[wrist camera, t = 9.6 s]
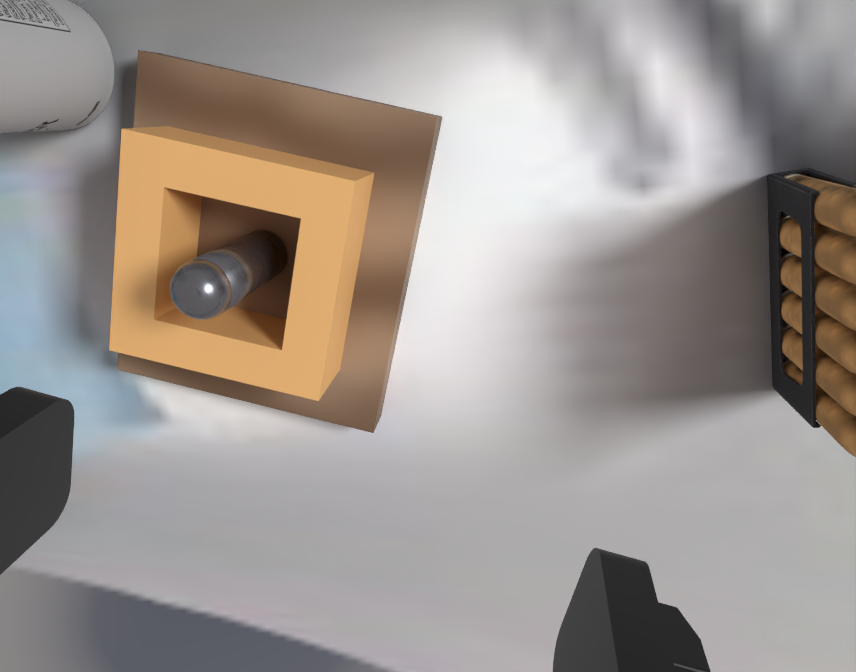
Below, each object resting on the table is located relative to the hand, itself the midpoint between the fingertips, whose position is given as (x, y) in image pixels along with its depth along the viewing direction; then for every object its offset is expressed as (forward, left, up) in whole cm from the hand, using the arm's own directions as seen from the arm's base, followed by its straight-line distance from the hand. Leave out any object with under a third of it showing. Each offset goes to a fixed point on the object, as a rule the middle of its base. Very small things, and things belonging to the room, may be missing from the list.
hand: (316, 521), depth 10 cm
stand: (+3, -9, -26) cm, 27 cm away
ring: (+3, -9, -24) cm, 25 cm away
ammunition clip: (-1, +16, -26) cm, 30 cm away
